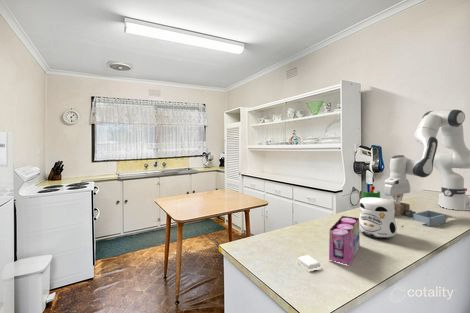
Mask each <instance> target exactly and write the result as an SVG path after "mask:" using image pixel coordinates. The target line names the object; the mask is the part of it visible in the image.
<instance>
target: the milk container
mask: <svg viewBox="0 0 470 313" xmlns="http://www.w3.org/2000/svg"><path fill="white" fill-rule="evenodd" d="M394 209H395V206H394V201H393V200H391V199H388V198H382V197H380V198H372V197H369V198H360V200H359V217H358V218H359V232H361V233H362V234H363V235H366V236H369V237H371V238H377V239H389V238H393V237H395V235H396V234H397V230H398V228H397V227H398V226H397V223H396V219H395V218H396V217H395V216H396V215H395V210H394Z"/></svg>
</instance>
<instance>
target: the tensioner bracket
mask: <svg viewBox="0 0 470 313" xmlns="http://www.w3.org/2000/svg"><path fill="white" fill-rule="evenodd" d="M393 202H394V201H393ZM394 206H395V209H394V210H395V216H398V217H400V218H401V217H403V218H406V219H413V214H415V213H417V212H416V211H413V209H411V206H410V203H406V202H402V201H401V204H400V205H398V204H395V202H394Z"/></svg>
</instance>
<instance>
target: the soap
mask: <svg viewBox="0 0 470 313" xmlns="http://www.w3.org/2000/svg"><path fill="white" fill-rule="evenodd" d="M297 260H298V261H299V262H300V263H301V264H303V265H304V266H305V267H307V268H308V269H313V268H317V267H320V266H321V263H320V262H319V261H318V260H316V259H315V258H313V257H312V256H311V255H308V254H306V255H302V256H299V257H297ZM321 267H322V266H321Z"/></svg>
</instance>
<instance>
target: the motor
mask: <svg viewBox="0 0 470 313" xmlns="http://www.w3.org/2000/svg"><path fill="white" fill-rule="evenodd" d="M375 188H376V186H375V185H369V192H366V191H363V190H362V192H361V194H362V195H361V196H362V198H369V197H372V198H381V191H377V192H375V191H374V190H375ZM362 198H361V199H362Z"/></svg>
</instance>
